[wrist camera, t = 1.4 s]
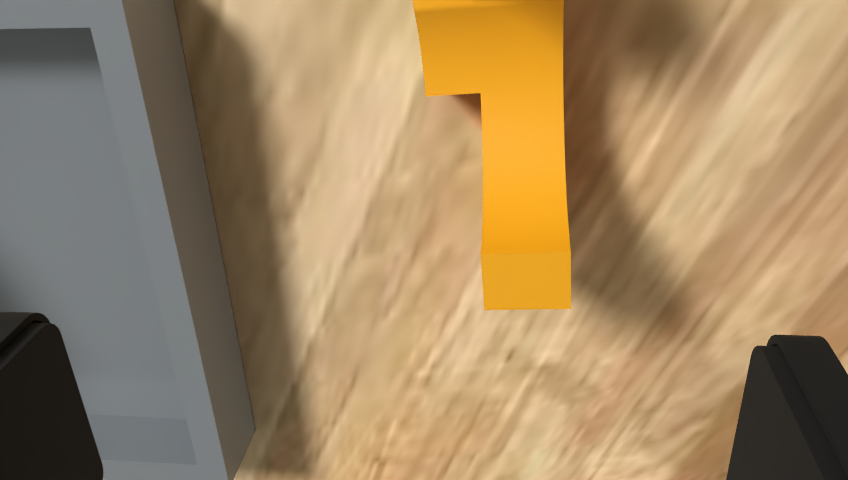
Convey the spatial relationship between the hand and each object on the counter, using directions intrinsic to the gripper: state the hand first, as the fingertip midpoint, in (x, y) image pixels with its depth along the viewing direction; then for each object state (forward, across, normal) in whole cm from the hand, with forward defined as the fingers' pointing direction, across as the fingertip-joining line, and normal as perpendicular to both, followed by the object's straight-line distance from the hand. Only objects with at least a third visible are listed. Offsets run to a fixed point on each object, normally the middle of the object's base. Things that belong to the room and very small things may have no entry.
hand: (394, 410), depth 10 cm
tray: (+18, +17, +7) cm, 25 cm away
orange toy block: (+18, -1, 0) cm, 18 cm away
